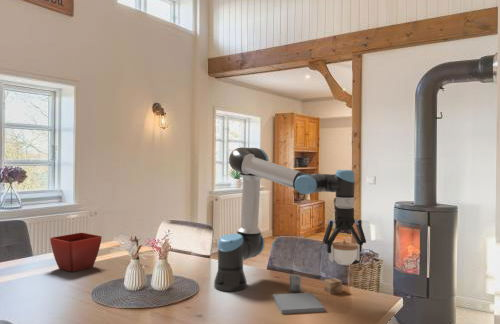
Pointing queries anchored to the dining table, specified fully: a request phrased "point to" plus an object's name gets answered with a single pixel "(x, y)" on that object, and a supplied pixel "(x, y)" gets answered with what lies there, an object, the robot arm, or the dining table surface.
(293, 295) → the charcoal board
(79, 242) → the plant pot
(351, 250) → the lidded jar
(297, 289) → the dark grey metal cylinder
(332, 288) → the walnut block
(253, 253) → the robot arm
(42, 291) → the dining table surface
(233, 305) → the dining table surface
